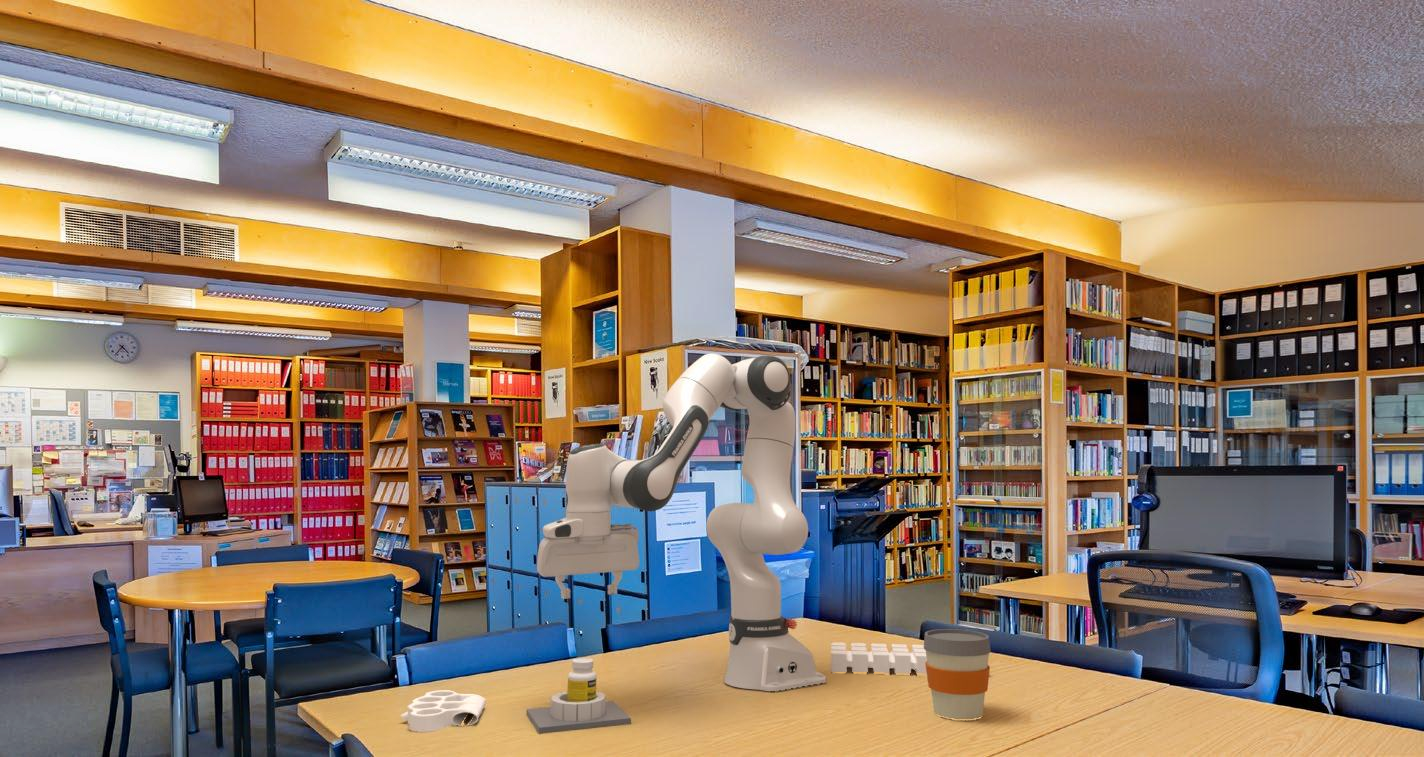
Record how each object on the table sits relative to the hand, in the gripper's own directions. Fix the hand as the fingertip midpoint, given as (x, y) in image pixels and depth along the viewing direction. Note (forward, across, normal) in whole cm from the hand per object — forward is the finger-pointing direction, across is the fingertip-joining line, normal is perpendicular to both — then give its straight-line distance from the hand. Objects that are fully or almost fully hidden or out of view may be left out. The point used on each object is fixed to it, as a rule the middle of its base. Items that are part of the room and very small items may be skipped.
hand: (589, 596), depth 178 cm
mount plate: (+22, +4, +6) cm, 23 cm away
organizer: (+25, -77, -6) cm, 81 cm away
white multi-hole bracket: (+22, +28, -4) cm, 35 cm away
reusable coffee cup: (+23, -65, +30) cm, 75 cm away
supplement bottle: (+21, +3, +6) cm, 22 cm away
